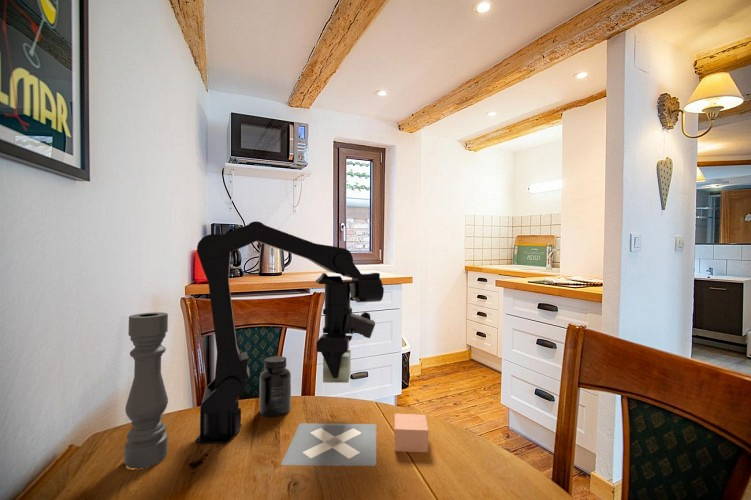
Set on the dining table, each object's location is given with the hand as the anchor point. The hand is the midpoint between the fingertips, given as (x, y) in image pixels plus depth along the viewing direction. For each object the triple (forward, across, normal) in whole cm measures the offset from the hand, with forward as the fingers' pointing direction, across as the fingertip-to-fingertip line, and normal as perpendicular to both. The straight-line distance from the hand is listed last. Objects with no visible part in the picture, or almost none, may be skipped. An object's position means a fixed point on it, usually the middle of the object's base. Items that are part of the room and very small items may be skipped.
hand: (337, 373), depth 75 cm
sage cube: (+1, 0, 0) cm, 1 cm away
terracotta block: (+9, -12, -15) cm, 22 cm away
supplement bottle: (+9, +1, +14) cm, 17 cm away
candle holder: (+9, -17, +31) cm, 37 cm away
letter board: (+9, -12, -1) cm, 15 cm away
